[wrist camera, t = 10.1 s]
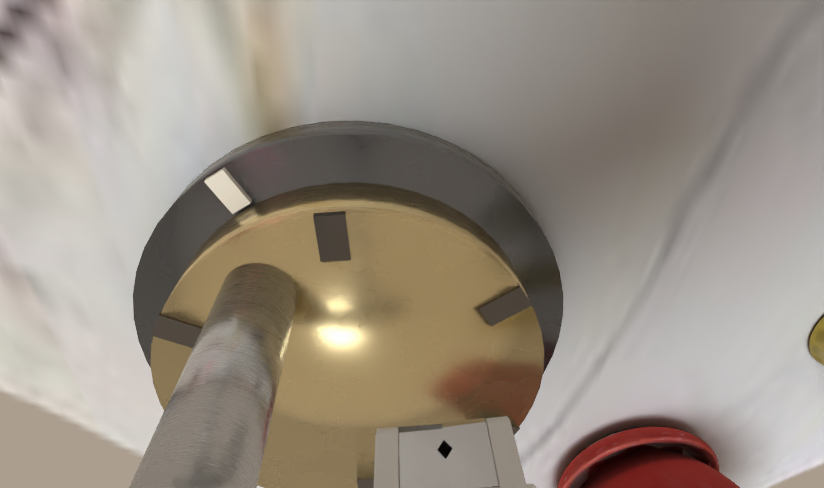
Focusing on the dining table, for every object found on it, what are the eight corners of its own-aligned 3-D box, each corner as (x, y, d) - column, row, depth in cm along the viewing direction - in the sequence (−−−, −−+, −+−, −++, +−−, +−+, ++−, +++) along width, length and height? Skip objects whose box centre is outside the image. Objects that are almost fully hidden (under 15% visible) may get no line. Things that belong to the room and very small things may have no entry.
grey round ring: (404, 14, 20) (407, 21, 18) (612, 339, 30) (629, 366, 28) (55, 284, 25) (29, 312, 23) (330, 484, 35) (328, 516, 33)
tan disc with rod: (579, 368, 28) (703, 613, 17) (324, 490, 32) (301, 747, 21) (407, 100, 19) (446, 263, 9) (92, 310, 23) (-129, 589, 13)
